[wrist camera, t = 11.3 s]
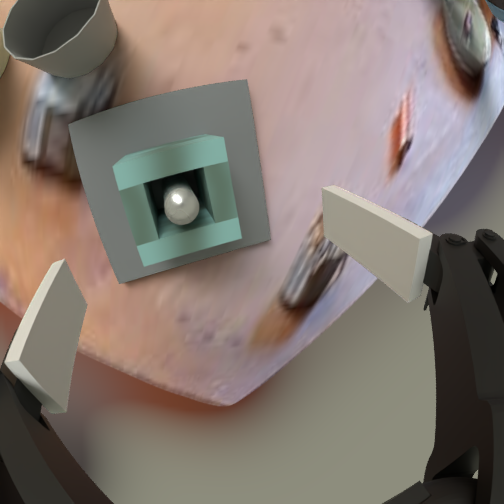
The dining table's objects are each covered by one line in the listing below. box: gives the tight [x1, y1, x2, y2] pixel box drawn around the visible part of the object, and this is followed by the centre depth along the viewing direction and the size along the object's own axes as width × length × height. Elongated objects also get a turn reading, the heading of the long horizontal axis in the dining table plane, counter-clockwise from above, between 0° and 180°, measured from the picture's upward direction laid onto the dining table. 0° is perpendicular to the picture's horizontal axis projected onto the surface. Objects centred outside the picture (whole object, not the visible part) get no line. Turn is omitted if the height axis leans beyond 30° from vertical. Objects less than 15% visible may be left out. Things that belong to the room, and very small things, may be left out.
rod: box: [162, 173, 199, 225], centre depth 23 cm, size 2×2×9 cm
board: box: [68, 79, 271, 284], centre depth 27 cm, size 18×18×2 cm
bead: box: [112, 134, 242, 267], centre depth 23 cm, size 8×8×8 cm
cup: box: [3, 0, 118, 79], centre depth 13 cm, size 8×8×10 cm
